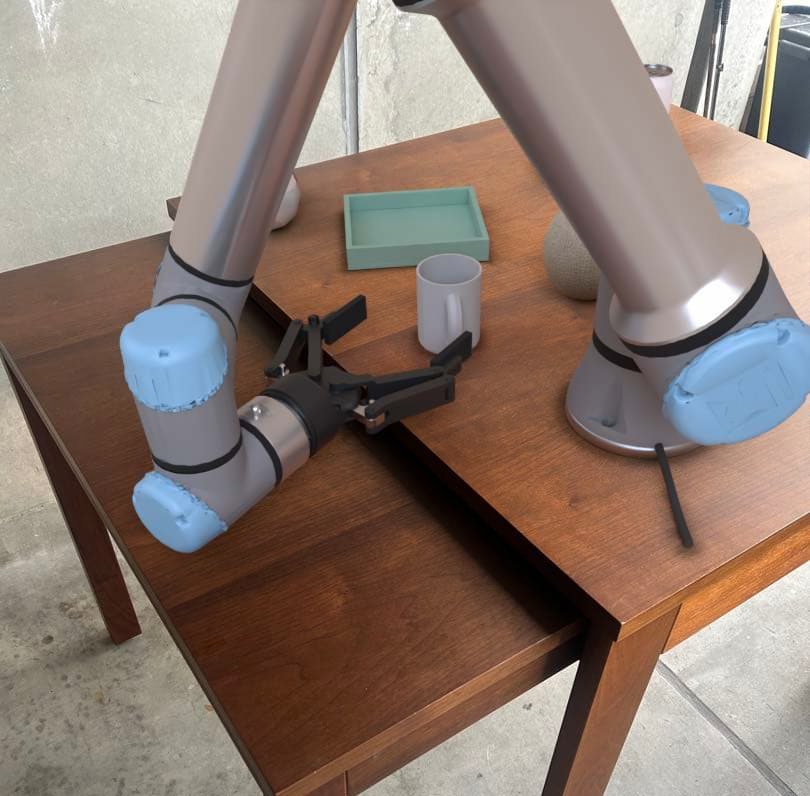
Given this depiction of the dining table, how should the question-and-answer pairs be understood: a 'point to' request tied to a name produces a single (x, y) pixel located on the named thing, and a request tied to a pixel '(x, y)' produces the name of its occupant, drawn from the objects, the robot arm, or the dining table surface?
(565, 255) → the fruit
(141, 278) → the dining table surface
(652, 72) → the can
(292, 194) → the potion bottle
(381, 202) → the tray
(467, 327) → the cup
